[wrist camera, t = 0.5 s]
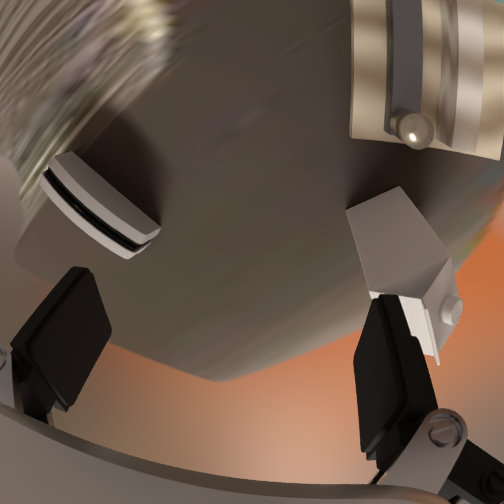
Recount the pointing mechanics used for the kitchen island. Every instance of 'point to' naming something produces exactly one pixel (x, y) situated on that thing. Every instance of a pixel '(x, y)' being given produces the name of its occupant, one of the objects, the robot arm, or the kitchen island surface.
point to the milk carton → (407, 265)
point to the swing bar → (405, 74)
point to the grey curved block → (97, 206)
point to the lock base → (436, 73)
